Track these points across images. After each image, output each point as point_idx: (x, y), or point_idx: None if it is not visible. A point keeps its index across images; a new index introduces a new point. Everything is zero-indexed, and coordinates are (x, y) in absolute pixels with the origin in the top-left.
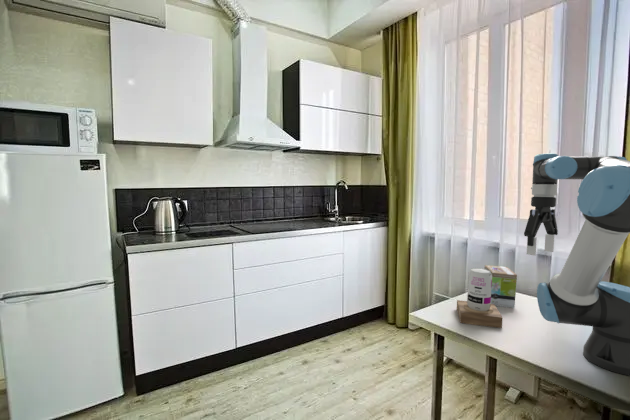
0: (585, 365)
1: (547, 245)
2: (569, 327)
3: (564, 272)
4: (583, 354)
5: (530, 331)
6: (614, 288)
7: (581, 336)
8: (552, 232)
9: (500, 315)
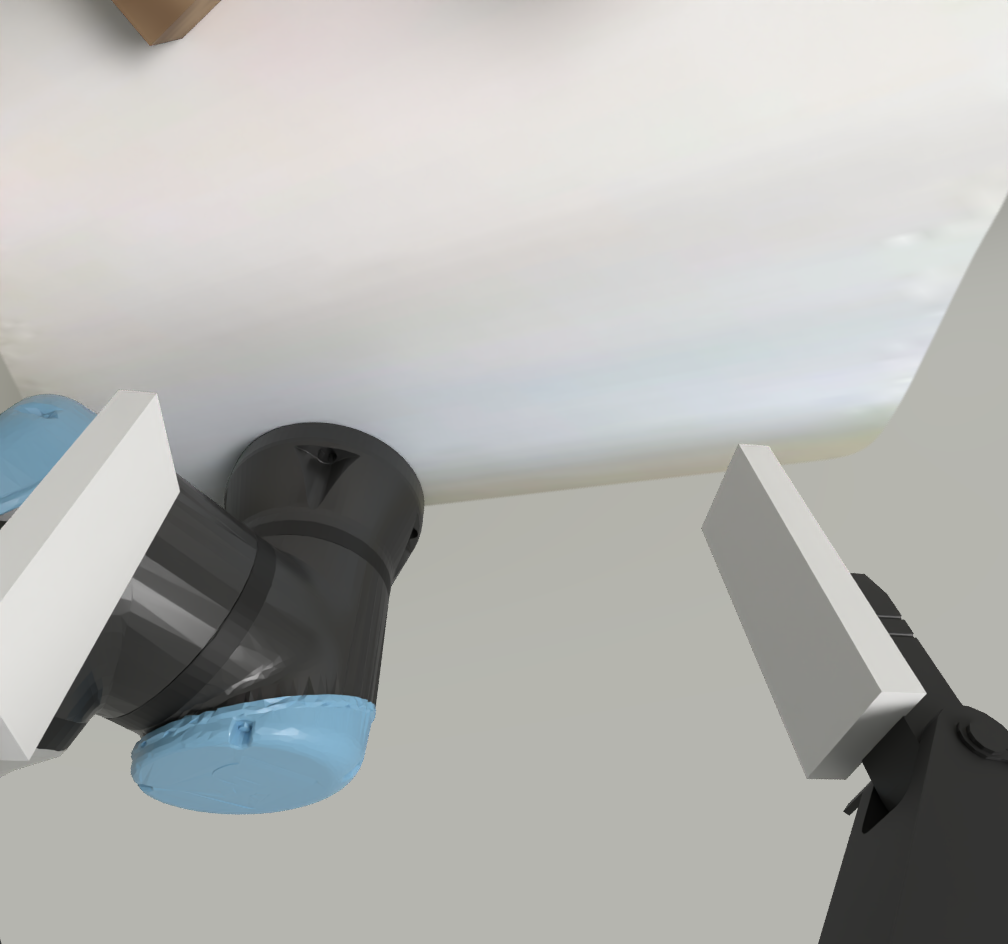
0: (195, 448)
1: (759, 540)
2: (572, 318)
3: None
4: (275, 430)
5: (318, 194)
6: (150, 785)
7: (490, 380)
8: (859, 822)
9: (173, 10)
